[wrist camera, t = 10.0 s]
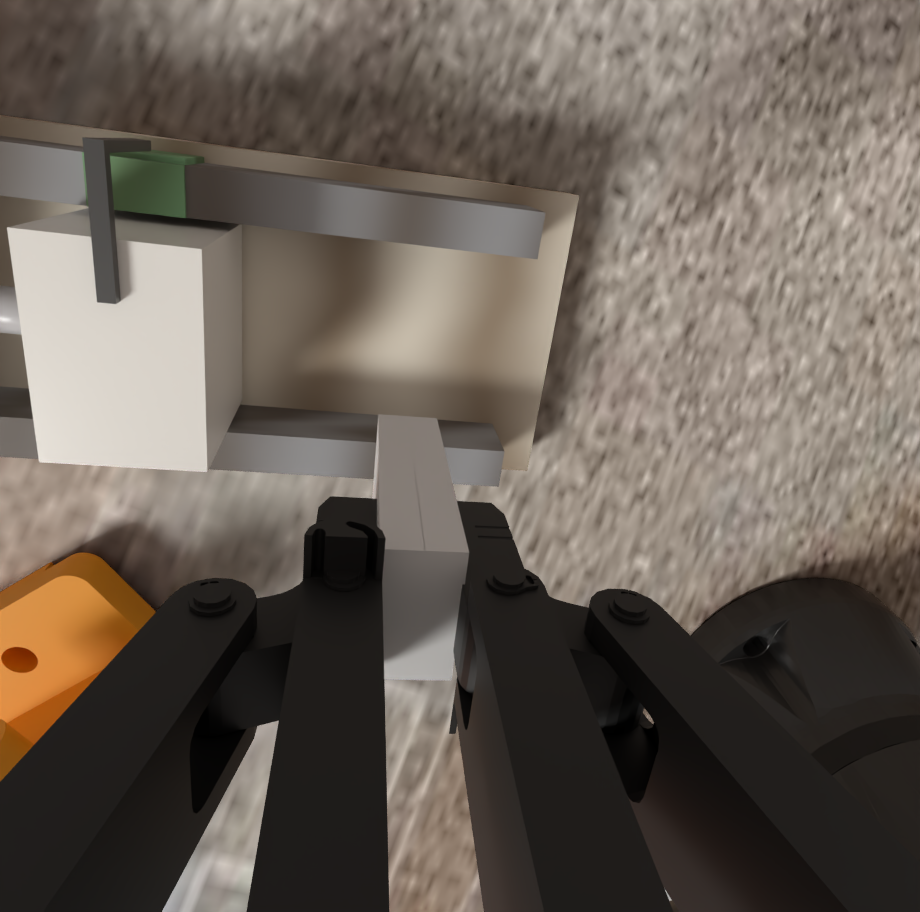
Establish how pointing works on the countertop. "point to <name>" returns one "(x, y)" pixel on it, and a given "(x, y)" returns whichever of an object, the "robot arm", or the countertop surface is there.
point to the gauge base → (333, 295)
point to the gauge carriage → (127, 328)
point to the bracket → (58, 643)
